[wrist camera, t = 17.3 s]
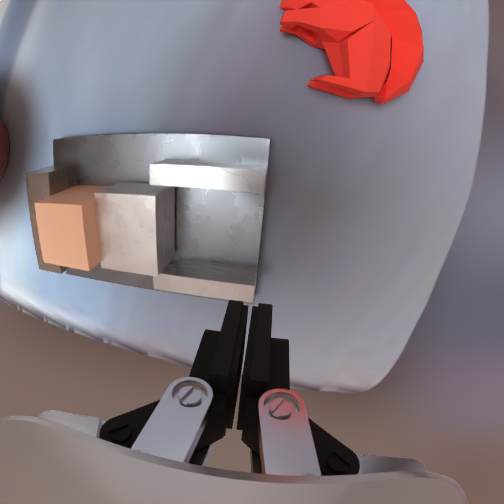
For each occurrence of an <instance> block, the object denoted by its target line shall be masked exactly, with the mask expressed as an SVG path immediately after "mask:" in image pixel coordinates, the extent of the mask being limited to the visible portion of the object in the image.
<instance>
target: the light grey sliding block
mask: <svg viewBox="0 0 504 504" xmlns="http://www.w3.org/2000/svg"><path fill="white" fill-rule="evenodd" d="M94 199H95V213H96V225H97V236H98V245H99V253H100V261H101V268H106V269H112V270H118V271H124V272H130V273H137V274H143V275H150V276H156V277H158V276H159V275H160V274H161V272H162V271H163V270H164V268H165V267H166V266H167V264H168V263H169V262H170V261H171V259H172V258H173V257H174V255H175V186H161V185H150V183H134V182H119V183H116V184H114V185H111V186H109V187H107V188H104V189H102V190H100V191H97V192H95V193H94Z"/></svg>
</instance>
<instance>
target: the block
mask: <svg viewBox="0 0 504 504" xmlns="http://www.w3.org/2000/svg"><path fill="white" fill-rule="evenodd" d="M107 187H109V186H88V185H77V186H74V187H71V188H69V189H66V190H64V191H61V192H59V193H56V194H54V195H51V196H49V197H47V198H44V199H42V200H40V201H37V202H35V212H36V220H37V227H38V233H39V240H40V245H41V251H42V256H43V261H44V262H45V263H50V264H55V265H60V266H65V267H70V268H75V269H81V270H86V271H90V270H91V269H92V268H94V267H95V266H96V265H97V264H98V263H99V262H101V261H100V253H99V245H98V236H97V225H96V213H95V199H94V193H95V192H97V191H100V190H102V189H104V188H107Z"/></svg>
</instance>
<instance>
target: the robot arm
mask: <svg viewBox="0 0 504 504" xmlns="http://www.w3.org/2000/svg"><path fill="white" fill-rule="evenodd" d="M247 315H248V306H247V305H243V301H236V300H229V303H228V306H227V310H226V314H225V317H224V321H223V325H222V328H221V332H220V331H213V330H205V331H204V334H203V337H202V340H201V343H200V346H199V348H198V351H197V354H196V357H195V360H194V363H193V366H192V369H191V372H190V375H189V377H183V378H180V379H177V380H176V381H174V382H172V384H171V385H170V386H169V387H168V389H167V391H166V392H165V394H164V395H163V397H162V398H161V399H160V400H158V401H156V402H153V403H151V404H148V405H146V406H143V407H140V408H138V409H135V410H133V411H130V412H127V413H125V414H122V415H119V416H117V417H114V418H112V419H110V420H108V421H101V419H100V418H95V417H89V416H82V415H76V414H70V413H65V412H59V411H52V410H49V411H46V412H44V413H42V414H41V415H40V416H39V418H37V417H30V416H9V417H6V418H3V419H2V420H0V504H469V503H468V500H467V498H466V496H465V494H464V492H463V490H462V488H461V487H460V485H459V484H458V483H457V482H456V481H454V480H453V479H451V478H449V477H446V476H443V475H440V474H435V473H431V472H427V471H426V467H425V466H424V465H423V463H422V462H420V461H419V460H416V459H411V458H398V457H387V456H377V455H370V454H364V455H363V456H359V455H356V454H355V453H354V452H353V451H352V450H350V449H349V448H348V447H346V446H345V445H343V444H342V443H341V442H339V441H338V440H337V439H335V438H334V437H332V436H331V435H330V434H329V433H327V432H326V431H325V430H323V429H322V428H321V427H319V426H318V425H317V424H316V423H314V422H313V421H312V420H310V419H309V418H308V416H307V412H306V408H305V404H304V402H303V400H302V398H301V397H300V396H299V395H298V394H296V393H294V392H293V391H290V382H289V340H288V339H278V338H271V326H272V305H270V304H261V303H259V305H258V307H255V306H253V308H252V315H251V321H250V328H249V335H248V342H247V348H246V355H245V362H244V368H243V375H242V383H241V394H240V402H239V412H238V422H237V430H243V431H242V441H243V442H244V443H245V444H246V445H247V446H248V447H249V448H250V464H251V473H248V472H239V471H231V470H223V469H217V468H211V467H205V464H206V462H207V459H208V457H209V455H210V452H211V450H212V447H213V443H214V442H216V441H218V440H219V439H221V438H223V436H225V432H226V428H229V429H232V426H233V419H234V413H235V407H236V400H237V395H238V387H239V382H240V376H241V369H242V363H243V355H244V345H245V335H246V325H247Z"/></svg>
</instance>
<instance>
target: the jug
mask: <svg viewBox="0 0 504 504" xmlns="http://www.w3.org/2000/svg"><path fill="white" fill-rule="evenodd" d="M9 147H10V145H9V136H8V132H7V129H6V126H5V124H4V123H3V121H2V120H1V119H0V181H1V179H2V176H3V174H4V172H5V170H6V167H7V164H8V159H9Z"/></svg>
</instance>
